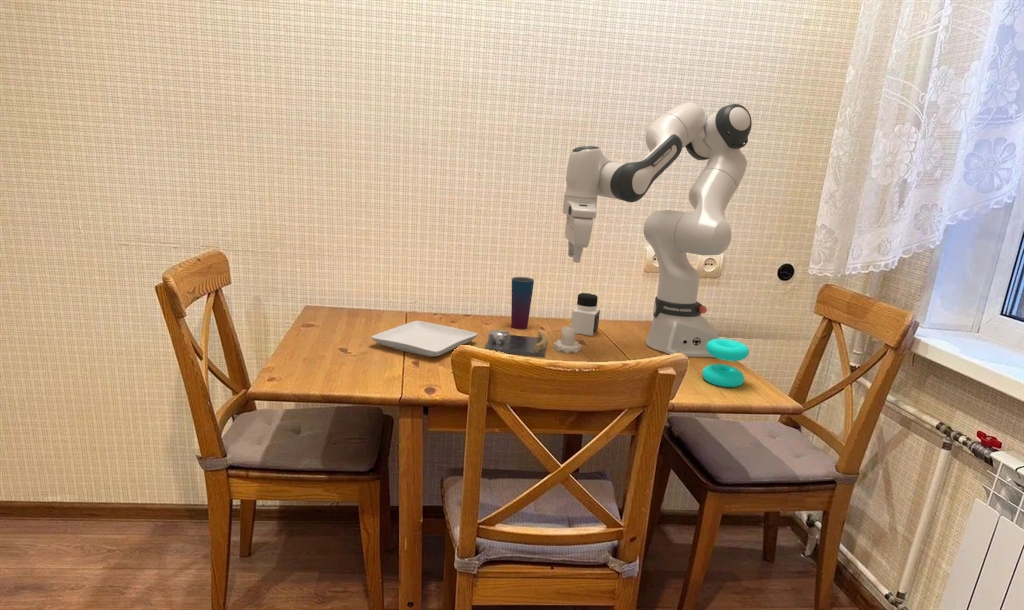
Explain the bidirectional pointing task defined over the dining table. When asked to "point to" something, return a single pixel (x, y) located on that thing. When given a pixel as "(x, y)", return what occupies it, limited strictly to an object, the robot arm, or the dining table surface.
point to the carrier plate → (516, 343)
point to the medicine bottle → (586, 315)
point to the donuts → (725, 373)
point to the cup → (521, 301)
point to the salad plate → (424, 338)
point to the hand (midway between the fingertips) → (573, 259)
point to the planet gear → (567, 341)
